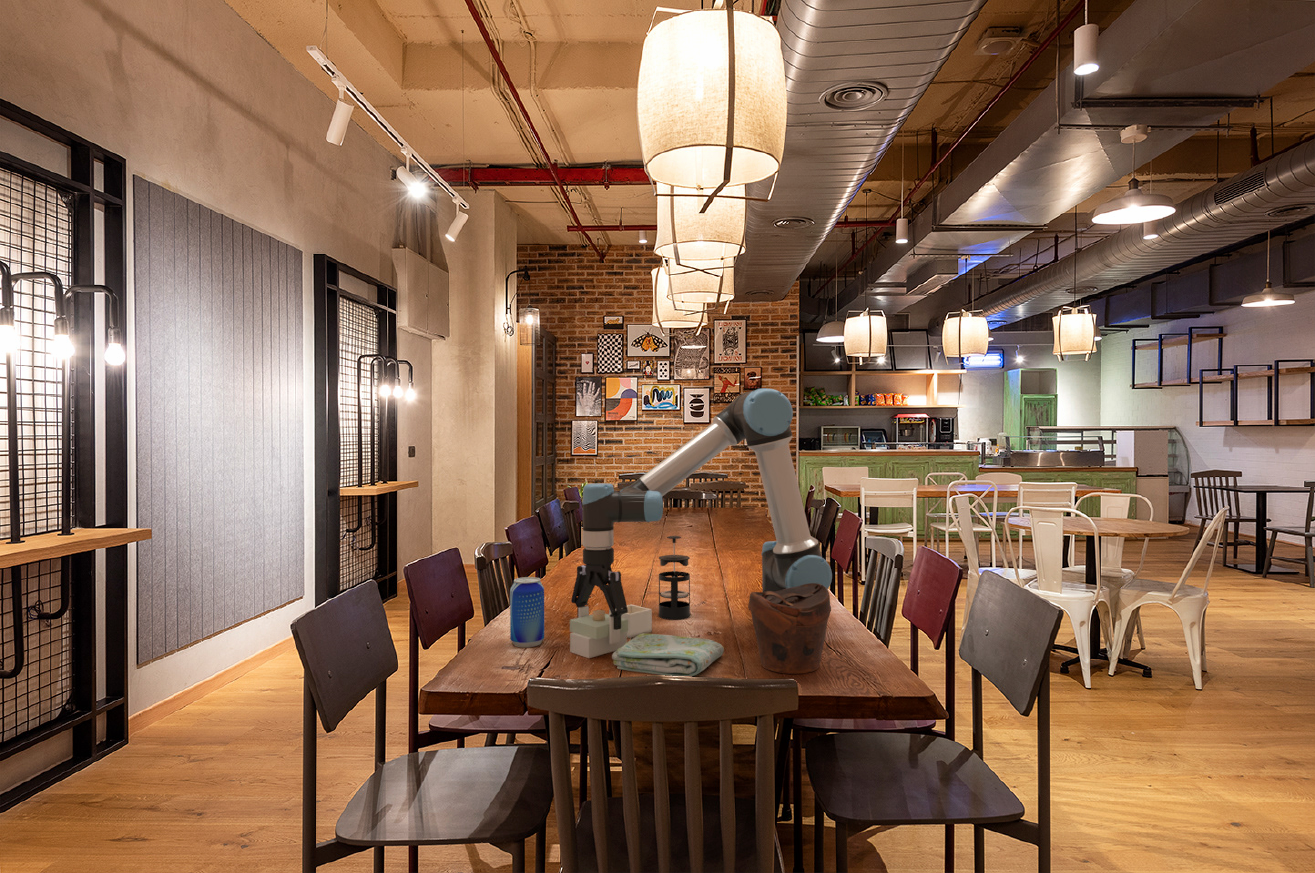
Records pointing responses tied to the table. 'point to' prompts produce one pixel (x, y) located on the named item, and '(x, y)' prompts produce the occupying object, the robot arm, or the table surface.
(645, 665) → the towel
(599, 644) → the block
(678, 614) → the french press
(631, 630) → the open white box
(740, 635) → the table surface
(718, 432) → the robot arm
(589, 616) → the lid
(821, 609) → the brown tapered bucket
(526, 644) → the beer can
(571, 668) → the table surface
